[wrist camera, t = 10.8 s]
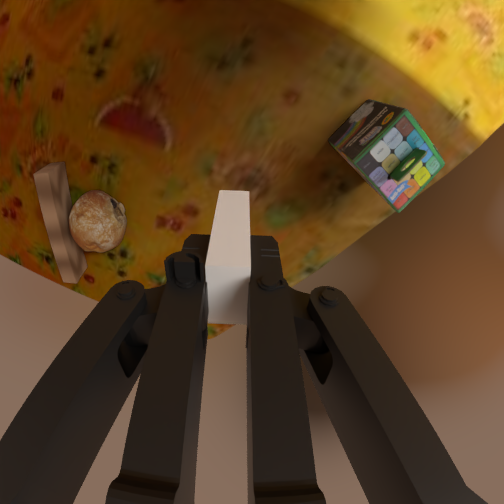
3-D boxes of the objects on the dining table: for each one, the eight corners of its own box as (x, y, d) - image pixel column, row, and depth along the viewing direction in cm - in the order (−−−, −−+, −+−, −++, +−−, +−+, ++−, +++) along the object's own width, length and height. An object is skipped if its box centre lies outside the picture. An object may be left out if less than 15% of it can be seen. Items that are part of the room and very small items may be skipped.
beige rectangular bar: (50, 163, 39) (33, 174, 35) (64, 161, 39) (48, 172, 35) (74, 265, 50) (63, 282, 46) (87, 266, 50) (76, 283, 46)
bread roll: (139, 216, 49) (139, 225, 42) (101, 260, 48) (96, 275, 41) (99, 177, 45) (92, 179, 38) (61, 222, 44) (49, 232, 37)
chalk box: (365, 181, 42) (409, 230, 30) (324, 140, 39) (361, 174, 27) (406, 141, 39) (464, 176, 26) (369, 96, 35) (424, 112, 23)
